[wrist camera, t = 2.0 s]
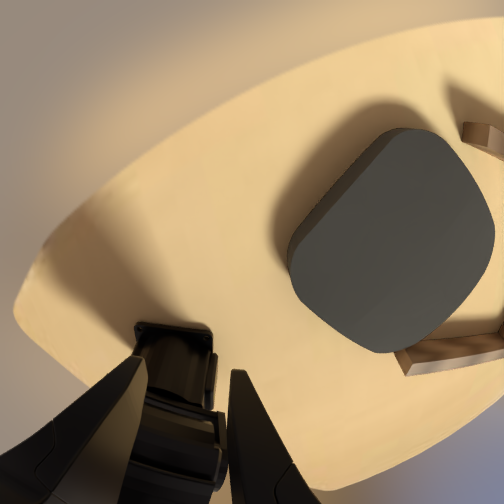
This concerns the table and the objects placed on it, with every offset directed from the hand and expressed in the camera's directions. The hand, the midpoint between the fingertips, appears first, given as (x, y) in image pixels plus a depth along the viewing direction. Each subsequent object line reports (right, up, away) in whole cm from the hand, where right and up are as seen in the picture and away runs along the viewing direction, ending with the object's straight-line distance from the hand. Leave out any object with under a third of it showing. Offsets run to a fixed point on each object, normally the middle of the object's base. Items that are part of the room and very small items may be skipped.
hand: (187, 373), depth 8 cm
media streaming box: (+13, +4, +12) cm, 18 cm away
